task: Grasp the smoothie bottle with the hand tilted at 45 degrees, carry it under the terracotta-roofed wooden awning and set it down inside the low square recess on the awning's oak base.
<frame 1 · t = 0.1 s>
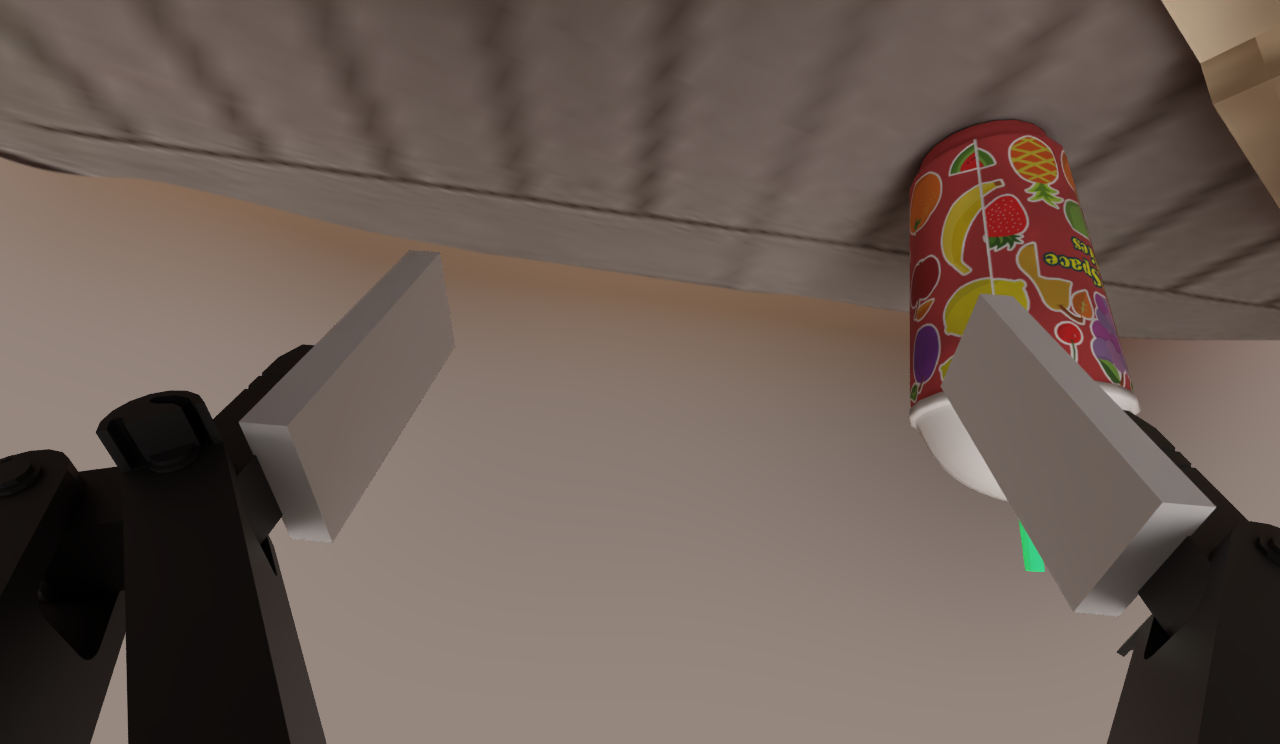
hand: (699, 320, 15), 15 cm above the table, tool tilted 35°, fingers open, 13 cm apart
smoothie: (980, 155, 30), on the table
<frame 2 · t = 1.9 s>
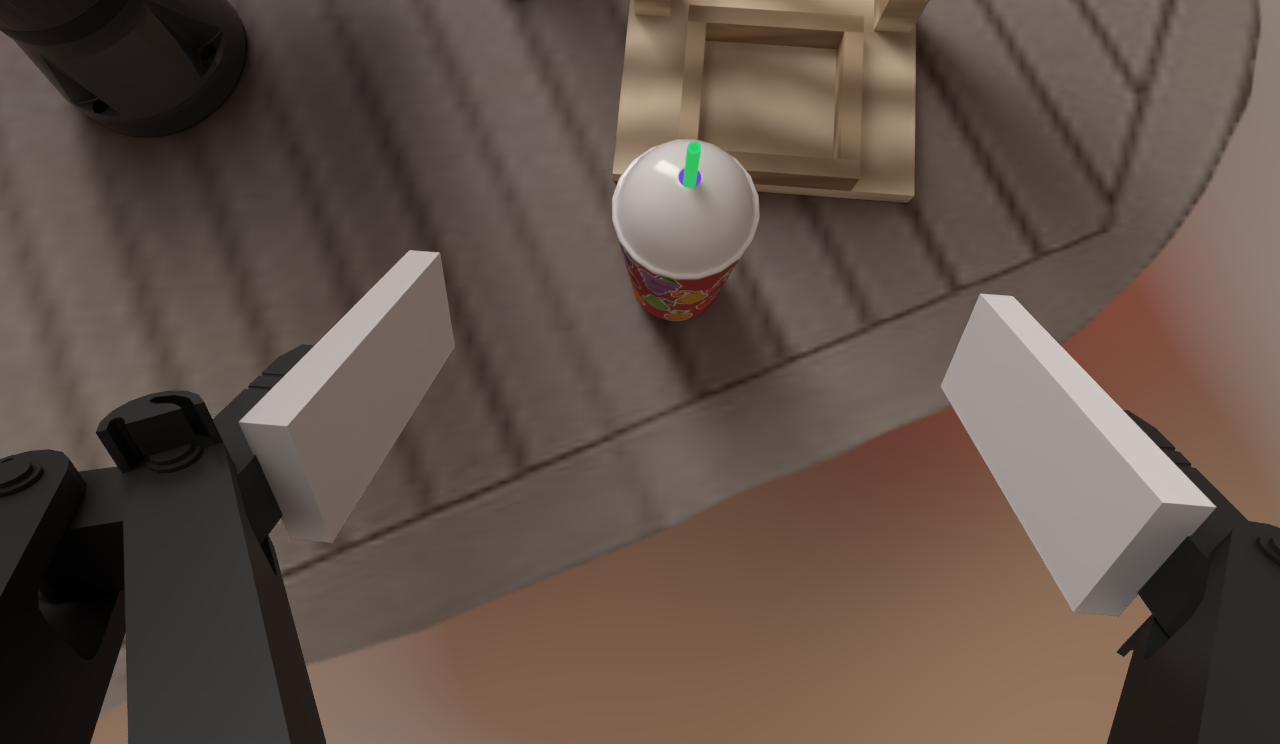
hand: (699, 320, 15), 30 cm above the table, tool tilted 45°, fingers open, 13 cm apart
awning socket: (764, 113, 49), on the table
smoothie: (674, 285, 47), on the table
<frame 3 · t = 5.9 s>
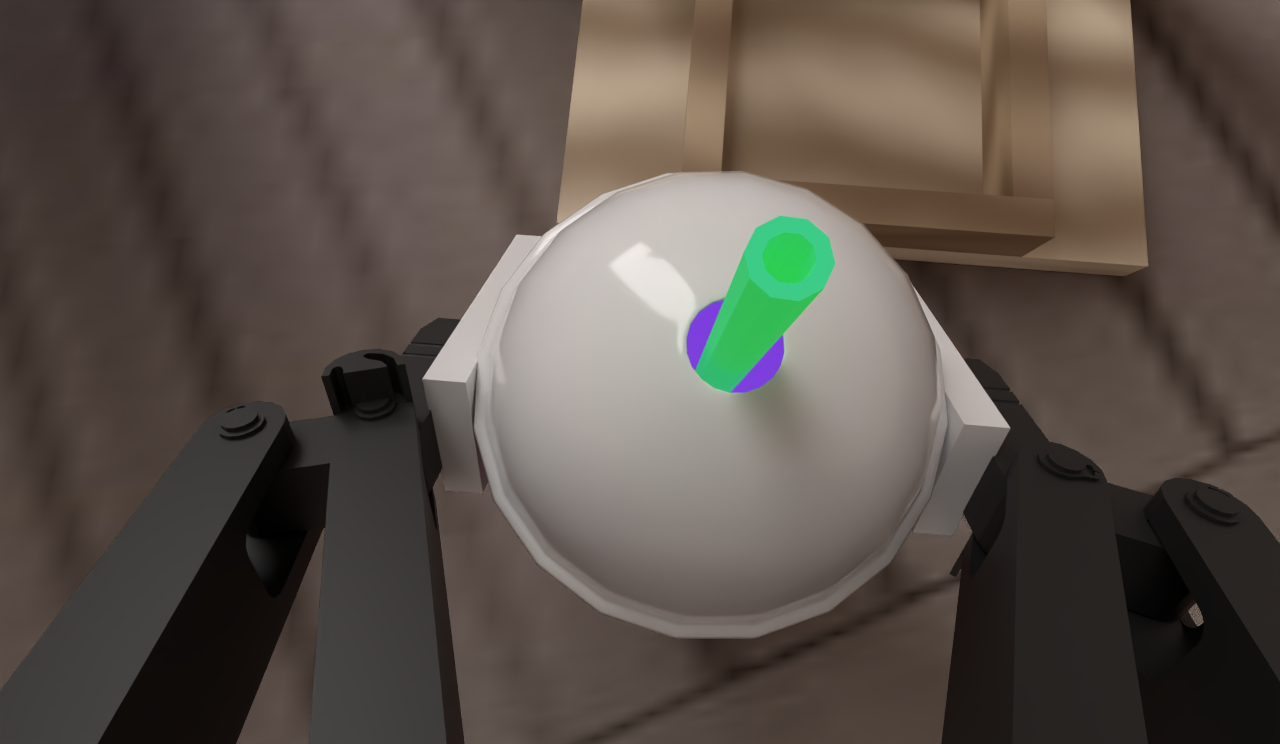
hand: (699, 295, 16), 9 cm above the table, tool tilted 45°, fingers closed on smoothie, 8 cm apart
awning socket: (842, 107, 26), on the table
smoothie: (676, 438, 24), on the table, touching gripper
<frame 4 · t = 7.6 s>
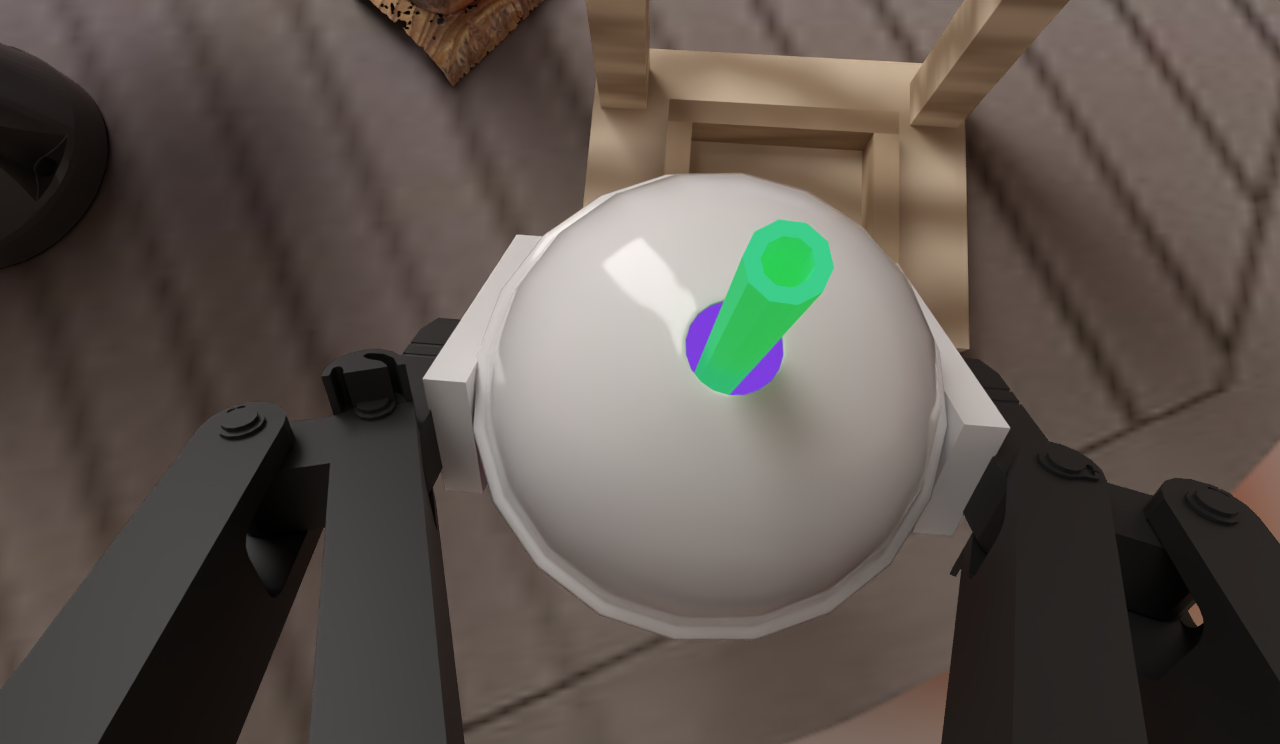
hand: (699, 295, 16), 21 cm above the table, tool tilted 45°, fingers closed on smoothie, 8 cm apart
awning socket: (768, 234, 38), on the table
smoothie: (676, 439, 24), point 12 cm above the table, touching gripper
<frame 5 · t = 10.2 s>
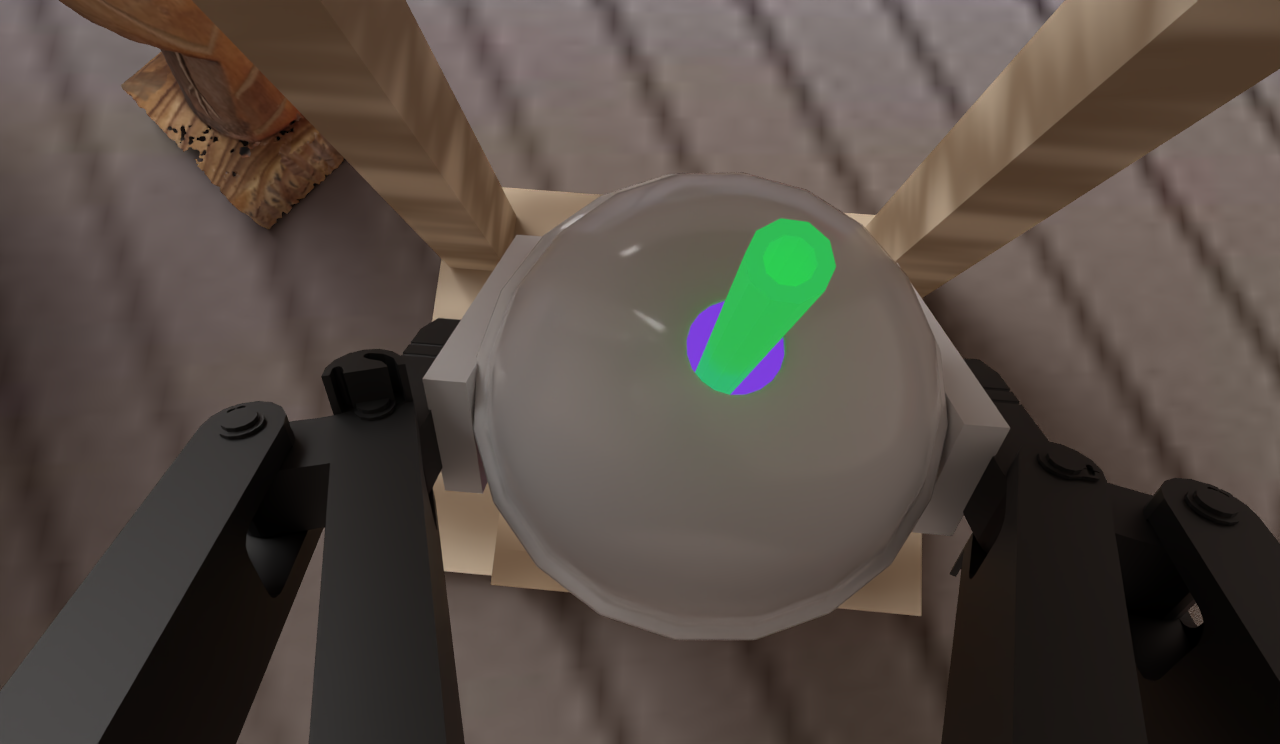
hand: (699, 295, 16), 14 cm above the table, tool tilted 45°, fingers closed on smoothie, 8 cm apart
awning socket: (666, 438, 29), on the table
smoothie: (676, 439, 24), point 5 cm above the table, touching gripper
bird sculpture: (282, 100, 33), on the table
when the fingers open (11 cm above the table, at t = 11.3 s): smoothie stays where it is, resting on awning socket.
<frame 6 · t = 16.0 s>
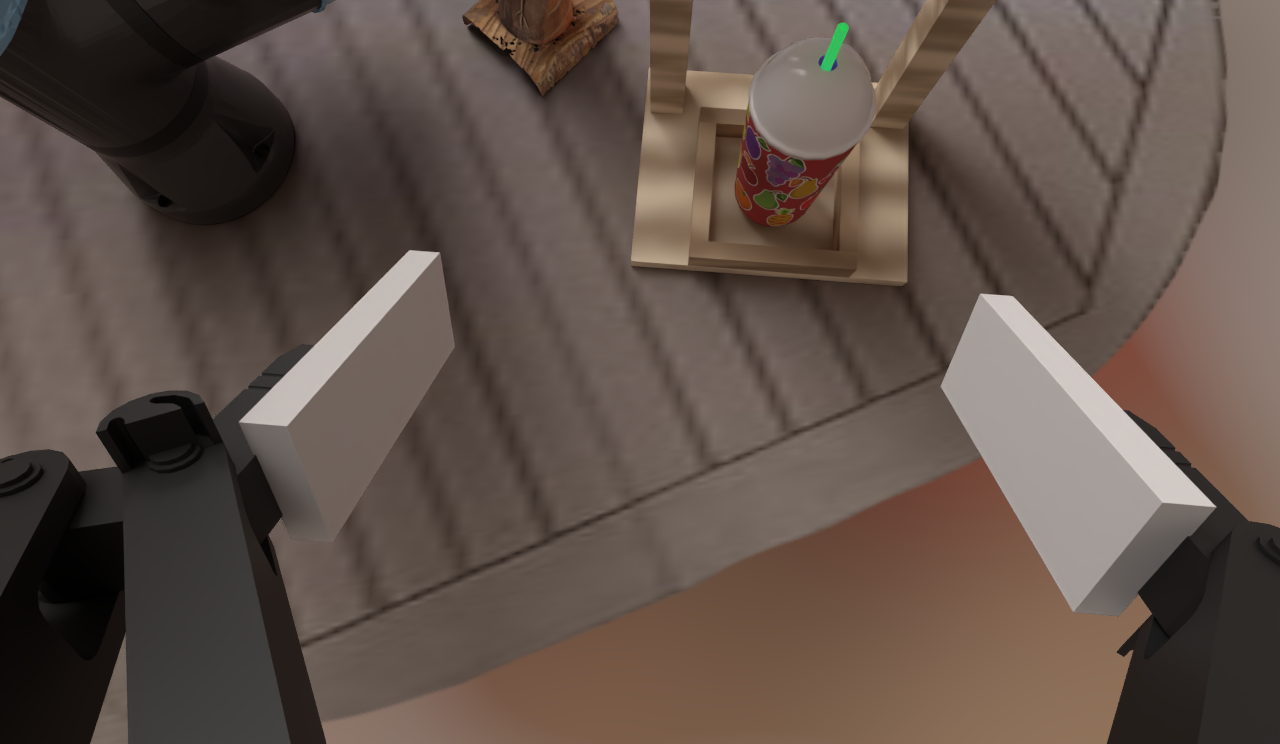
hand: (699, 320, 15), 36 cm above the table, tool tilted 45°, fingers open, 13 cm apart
awning socket: (769, 202, 53), on the table
smoothie: (770, 198, 52), point 1 cm above the table, touching awning socket
bird sculpture: (542, 26, 57), on the table
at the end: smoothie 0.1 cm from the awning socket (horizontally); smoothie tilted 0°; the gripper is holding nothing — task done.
